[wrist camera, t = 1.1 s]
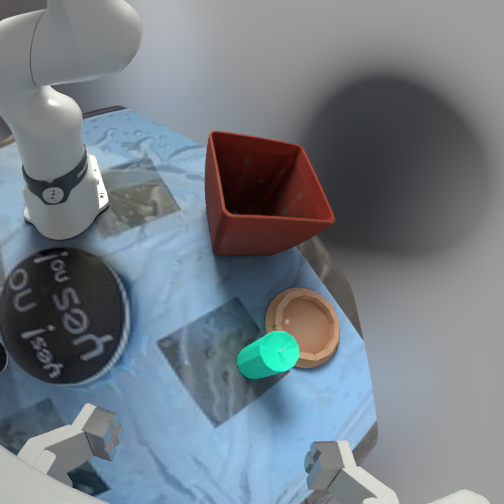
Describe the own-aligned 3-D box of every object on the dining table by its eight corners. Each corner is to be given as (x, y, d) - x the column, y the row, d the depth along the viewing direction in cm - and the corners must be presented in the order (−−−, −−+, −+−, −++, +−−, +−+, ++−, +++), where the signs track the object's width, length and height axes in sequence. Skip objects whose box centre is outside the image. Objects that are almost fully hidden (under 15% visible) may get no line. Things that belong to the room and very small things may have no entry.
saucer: (252, 299, 52) (256, 294, 50) (318, 281, 59) (324, 276, 57) (283, 381, 46) (289, 379, 44) (348, 350, 53) (355, 348, 51)
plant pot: (270, 196, 67) (303, 144, 53) (291, 269, 58) (337, 222, 45) (190, 191, 59) (209, 129, 46) (199, 272, 51) (224, 216, 37)
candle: (273, 352, 48) (308, 335, 38) (265, 383, 44) (300, 375, 35) (242, 340, 47) (270, 320, 37) (232, 372, 44) (259, 362, 34)
